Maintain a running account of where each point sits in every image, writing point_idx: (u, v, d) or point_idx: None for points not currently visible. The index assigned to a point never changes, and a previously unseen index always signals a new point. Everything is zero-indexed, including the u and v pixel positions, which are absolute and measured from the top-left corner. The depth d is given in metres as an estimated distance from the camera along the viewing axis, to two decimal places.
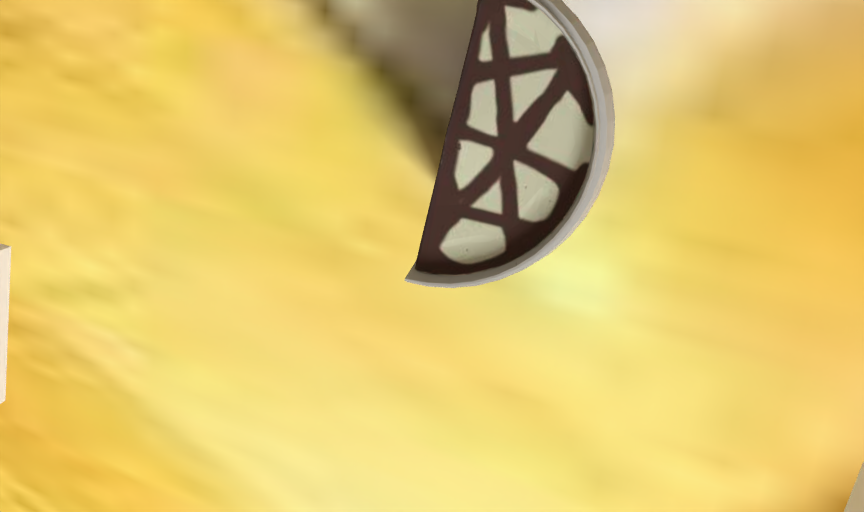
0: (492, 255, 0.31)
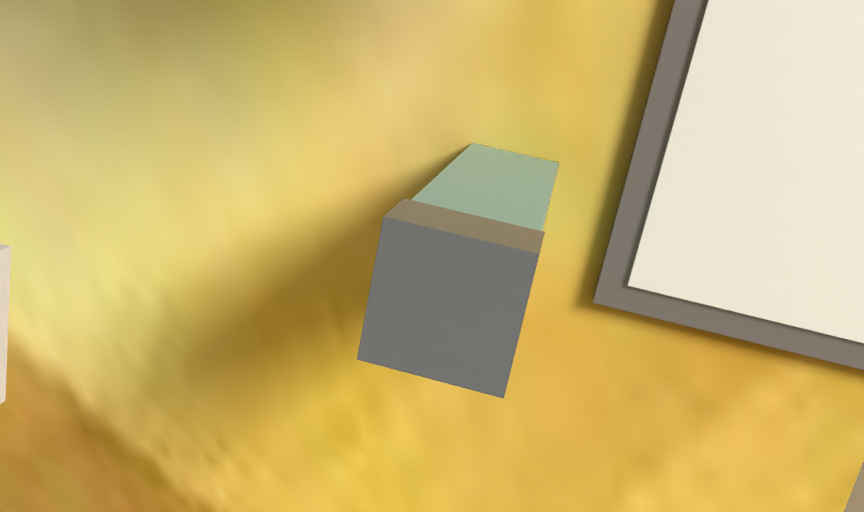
0: None
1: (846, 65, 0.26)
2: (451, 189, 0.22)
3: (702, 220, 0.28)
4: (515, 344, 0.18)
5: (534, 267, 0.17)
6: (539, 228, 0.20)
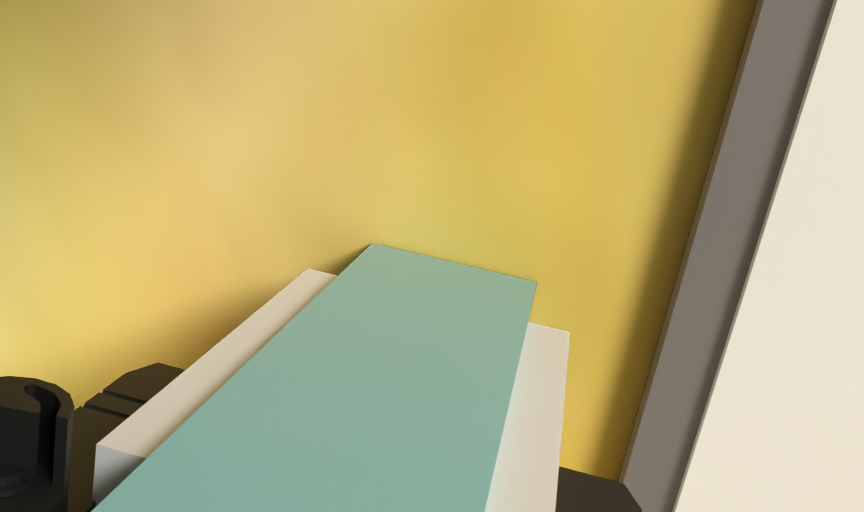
0: None
1: None
2: (208, 478, 0.08)
3: (824, 405, 0.14)
4: None
5: None
6: None
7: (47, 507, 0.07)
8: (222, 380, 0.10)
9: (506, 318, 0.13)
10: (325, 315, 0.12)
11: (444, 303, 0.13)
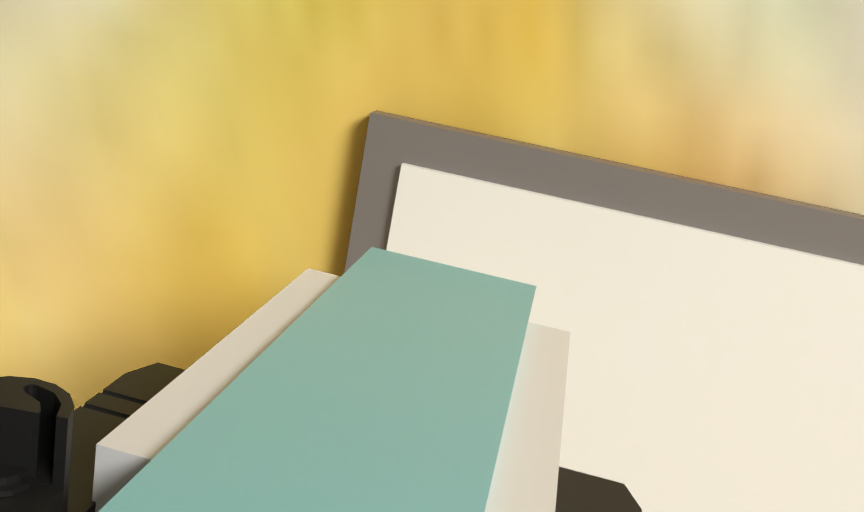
0: None
1: None
2: (207, 486, 0.08)
3: None
4: None
5: None
6: None
7: (47, 507, 0.07)
8: (222, 380, 0.10)
9: (505, 323, 0.13)
10: (324, 320, 0.12)
11: (443, 308, 0.13)
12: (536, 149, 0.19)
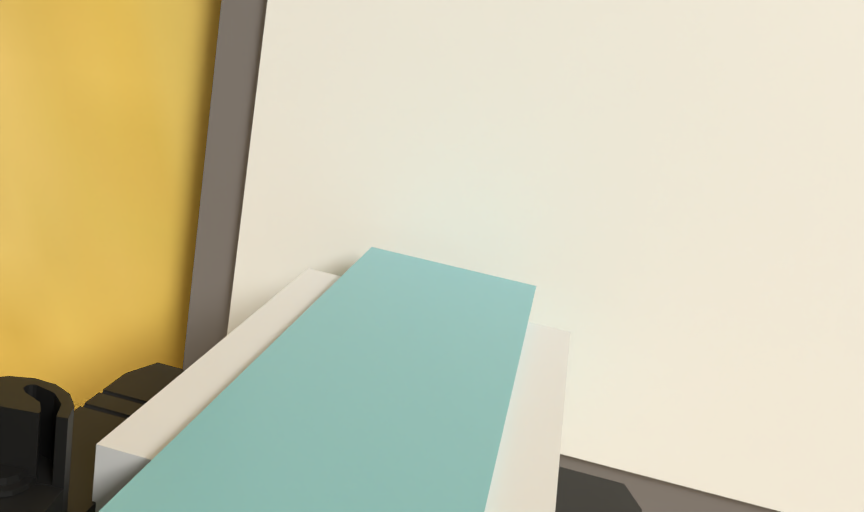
0: None
1: None
2: (207, 485, 0.08)
3: (322, 259, 0.17)
4: None
5: None
6: None
7: (47, 507, 0.07)
8: (222, 380, 0.10)
9: (505, 323, 0.13)
10: (324, 320, 0.12)
11: (443, 308, 0.13)
12: None
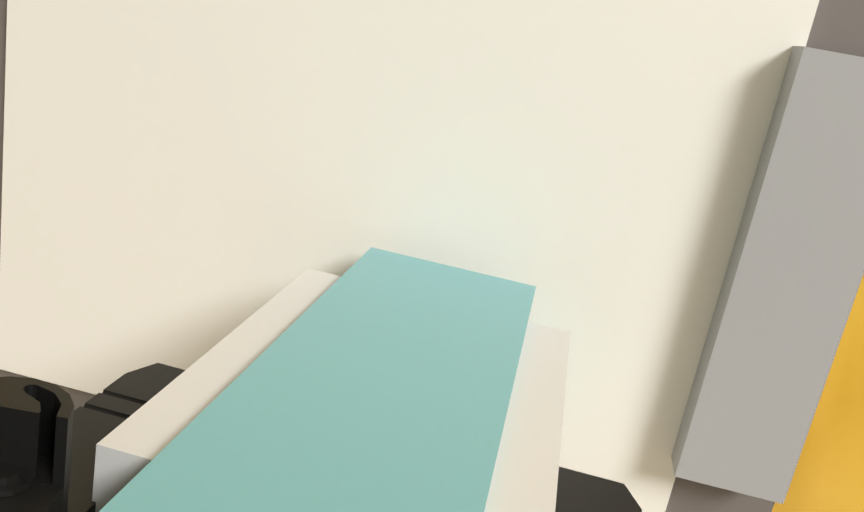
0: None
1: (229, 10, 0.16)
2: (207, 486, 0.08)
3: (76, 267, 0.18)
4: None
5: None
6: None
7: (47, 507, 0.07)
8: (222, 380, 0.10)
9: (505, 323, 0.13)
10: (324, 321, 0.12)
11: (443, 308, 0.13)
12: None
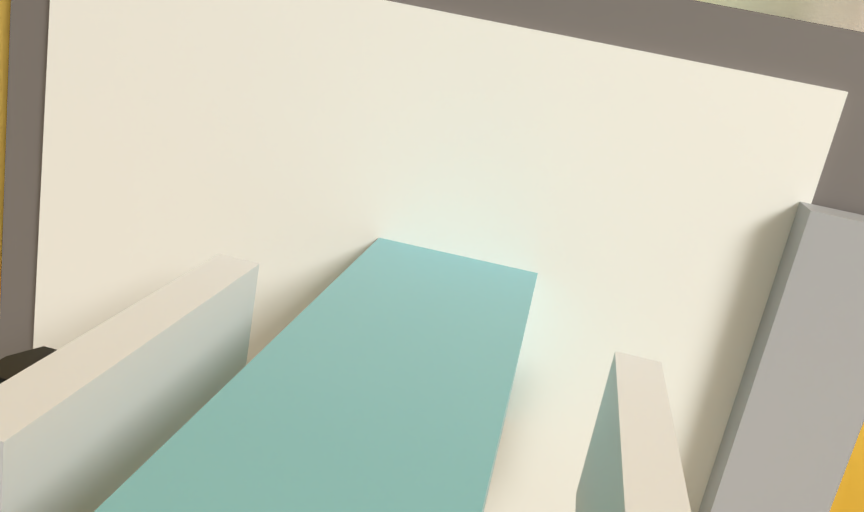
0: None
1: (258, 147, 0.16)
2: (235, 448, 0.08)
3: None
4: None
5: None
6: None
7: None
8: (92, 361, 0.10)
9: (508, 306, 0.14)
10: (336, 304, 0.13)
11: (449, 293, 0.14)
12: None
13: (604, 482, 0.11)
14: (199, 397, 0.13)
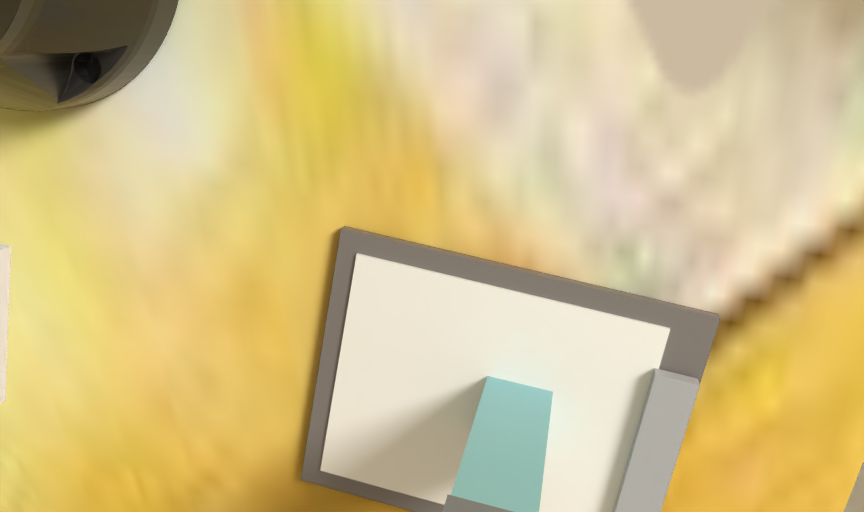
0: None
1: (438, 338, 0.40)
2: (477, 466, 0.32)
3: (362, 430, 0.42)
4: None
5: None
6: (538, 511, 0.30)
7: None
8: None
9: (543, 410, 0.38)
10: (484, 413, 0.36)
11: (520, 405, 0.38)
12: (422, 248, 0.39)
13: None
14: None
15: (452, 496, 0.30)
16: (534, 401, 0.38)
